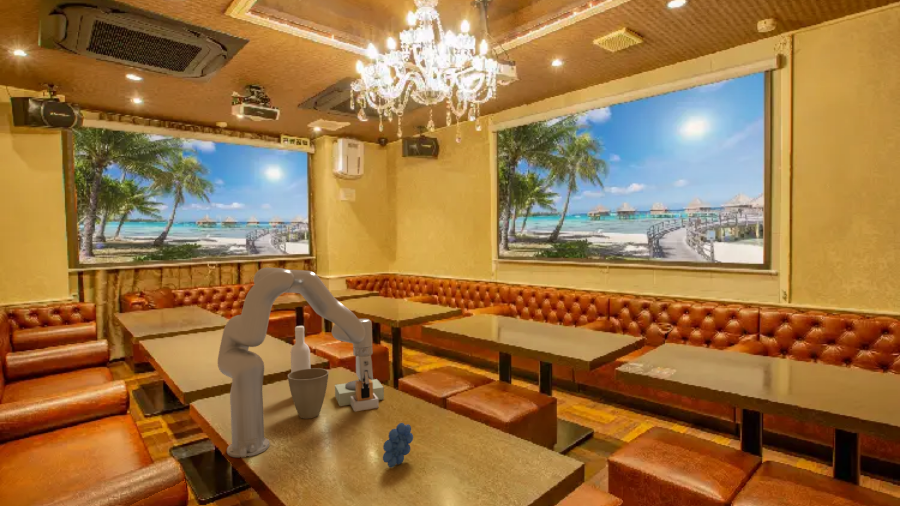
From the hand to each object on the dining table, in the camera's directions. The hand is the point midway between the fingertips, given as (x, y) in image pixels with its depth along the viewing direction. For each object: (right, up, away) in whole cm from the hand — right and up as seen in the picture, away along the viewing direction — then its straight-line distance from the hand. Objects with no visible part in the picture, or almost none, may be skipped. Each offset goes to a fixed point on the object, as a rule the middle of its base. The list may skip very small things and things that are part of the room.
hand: (364, 395), depth 184 cm
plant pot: (-19, -5, -8) cm, 21 cm away
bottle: (-29, -5, +12) cm, 31 cm away
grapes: (+18, -6, -46) cm, 50 cm away
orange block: (0, -2, 0) cm, 2 cm away
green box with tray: (-2, -4, +6) cm, 7 cm away
